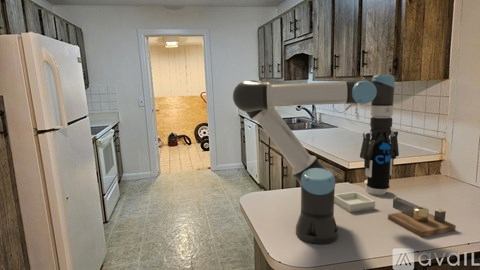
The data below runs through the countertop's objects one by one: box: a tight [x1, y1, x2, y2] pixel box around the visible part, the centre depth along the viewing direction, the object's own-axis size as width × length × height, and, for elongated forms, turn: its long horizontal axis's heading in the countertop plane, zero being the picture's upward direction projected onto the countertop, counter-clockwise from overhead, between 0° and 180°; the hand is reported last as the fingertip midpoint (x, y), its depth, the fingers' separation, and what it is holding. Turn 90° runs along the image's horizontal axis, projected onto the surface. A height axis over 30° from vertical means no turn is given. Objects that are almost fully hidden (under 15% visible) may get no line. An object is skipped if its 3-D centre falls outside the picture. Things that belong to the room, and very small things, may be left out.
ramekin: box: [363, 179, 388, 196], centre depth 156 cm, size 11×11×5 cm
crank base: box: [387, 208, 457, 238], centre depth 119 cm, size 16×16×6 cm
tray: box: [334, 191, 376, 214], centre depth 139 cm, size 13×13×4 cm
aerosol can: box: [366, 141, 392, 190], centre depth 118 cm, size 8×8×20 cm
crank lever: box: [392, 196, 430, 222], centre depth 124 cm, size 16×5×4 cm, turn 17°
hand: (378, 175), depth 119 cm, fingers closed on aerosol can, 8 cm apart
